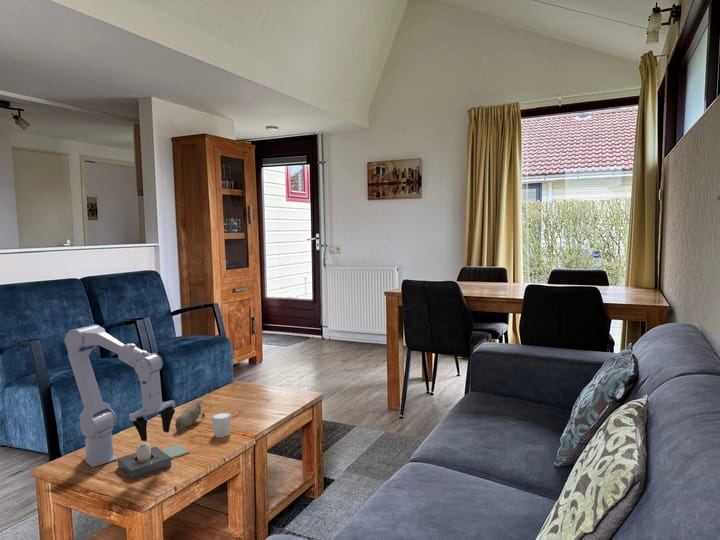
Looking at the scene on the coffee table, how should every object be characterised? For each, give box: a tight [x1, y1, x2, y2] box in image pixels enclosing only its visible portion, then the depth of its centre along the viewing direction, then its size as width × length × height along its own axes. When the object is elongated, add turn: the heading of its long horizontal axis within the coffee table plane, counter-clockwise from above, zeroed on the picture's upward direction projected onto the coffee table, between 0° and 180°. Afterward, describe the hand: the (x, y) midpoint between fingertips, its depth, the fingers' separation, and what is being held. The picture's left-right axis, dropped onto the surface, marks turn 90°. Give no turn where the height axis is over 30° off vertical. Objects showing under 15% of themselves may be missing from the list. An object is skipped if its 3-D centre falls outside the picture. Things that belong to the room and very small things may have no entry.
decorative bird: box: [174, 399, 206, 434], centre depth 193 cm, size 5×16×8 cm, turn 166°
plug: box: [136, 442, 152, 462], centre depth 158 cm, size 4×4×7 cm
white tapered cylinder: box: [211, 412, 232, 438], centre depth 183 cm, size 7×7×7 cm
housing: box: [117, 446, 172, 481], centre depth 158 cm, size 12×12×3 cm
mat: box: [159, 443, 191, 460], centre depth 168 cm, size 9×7×1 cm
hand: (155, 436), depth 157 cm, fingers open, 7 cm apart
